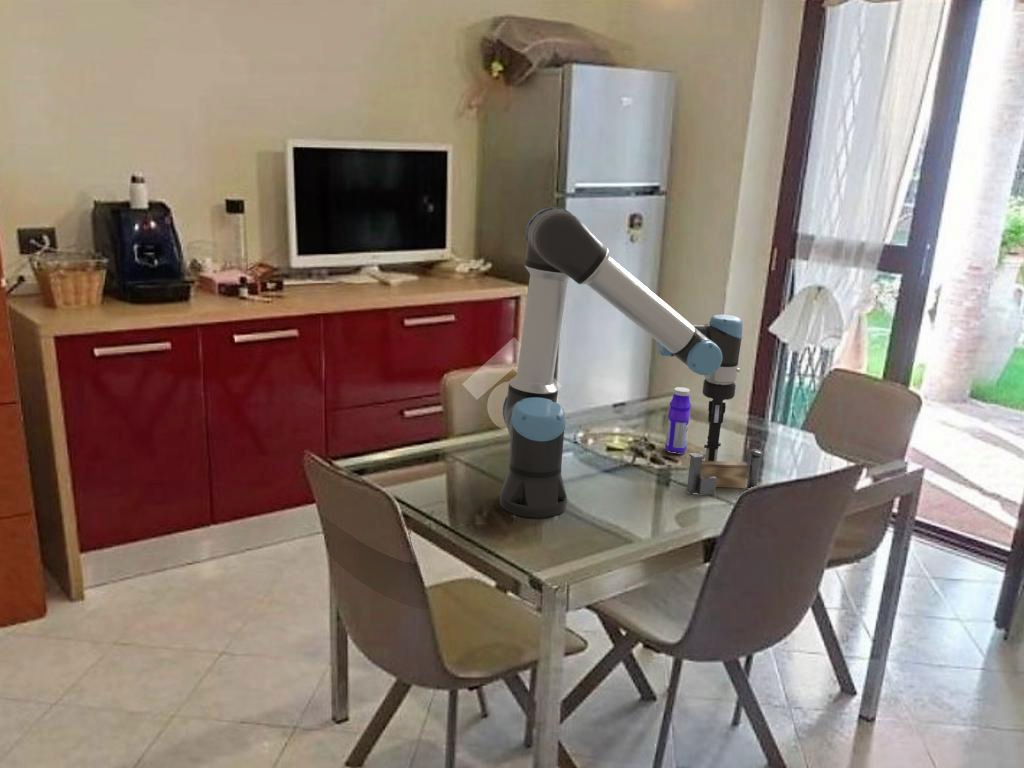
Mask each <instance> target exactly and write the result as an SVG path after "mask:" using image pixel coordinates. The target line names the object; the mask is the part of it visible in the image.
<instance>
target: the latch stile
mask: <svg viewBox="0 0 1024 768" xmlns="http://www.w3.org/2000/svg"><path fill="white" fill-rule="evenodd" d="M688 456H689V457H690V458H689V467H688V476H687V486H686V492H687V491H688V492H689V493H690V494H689V493H688V492H687V493H688V494H689V495H694V494H693V493H698V494H697V495H698V496H701V495H702V496H703V495H715V494H716V481H717V478H716V477H715V476H714V477H700V474H701V466H702V460H705V456H704V455H703V454H702V453H700V452H690V453H689V454H688Z"/></svg>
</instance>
